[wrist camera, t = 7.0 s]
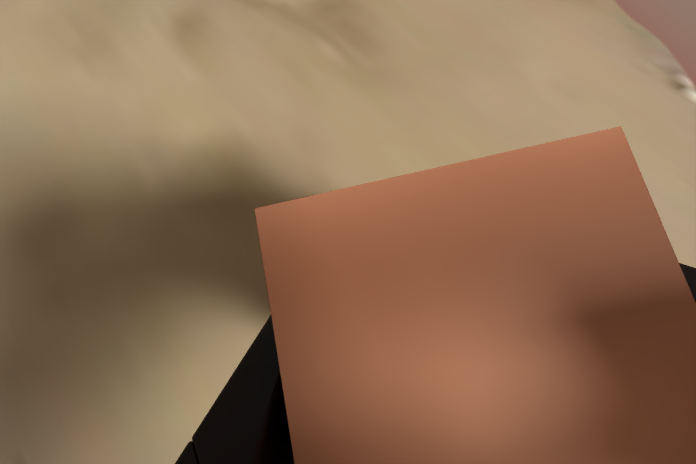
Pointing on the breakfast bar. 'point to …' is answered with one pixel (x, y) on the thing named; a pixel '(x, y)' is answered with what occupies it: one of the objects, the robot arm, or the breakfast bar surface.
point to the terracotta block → (485, 315)
